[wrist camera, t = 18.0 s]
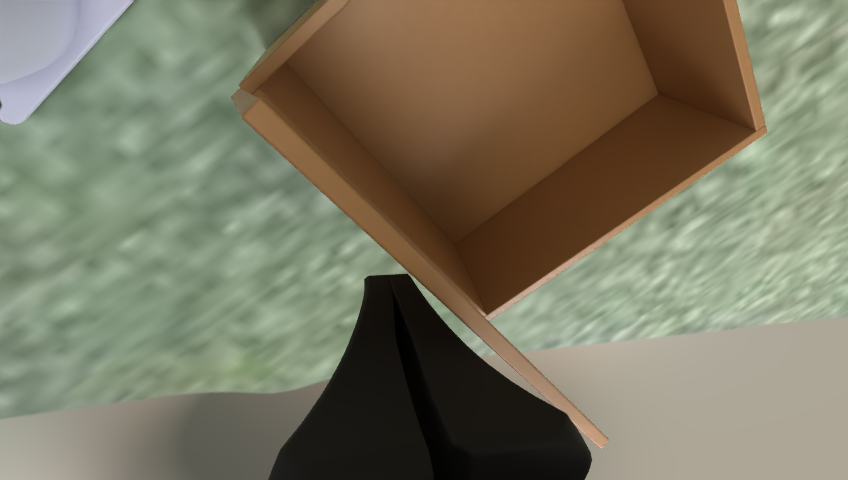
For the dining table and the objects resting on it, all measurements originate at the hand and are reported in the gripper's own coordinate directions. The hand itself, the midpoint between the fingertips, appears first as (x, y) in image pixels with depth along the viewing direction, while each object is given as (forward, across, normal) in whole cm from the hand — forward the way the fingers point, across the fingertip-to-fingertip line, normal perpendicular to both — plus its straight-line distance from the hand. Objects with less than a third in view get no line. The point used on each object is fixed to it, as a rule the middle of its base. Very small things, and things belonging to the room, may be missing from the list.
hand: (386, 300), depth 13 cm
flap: (0, -1, -1) cm, 2 cm away
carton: (+10, -6, -5) cm, 12 cm away
